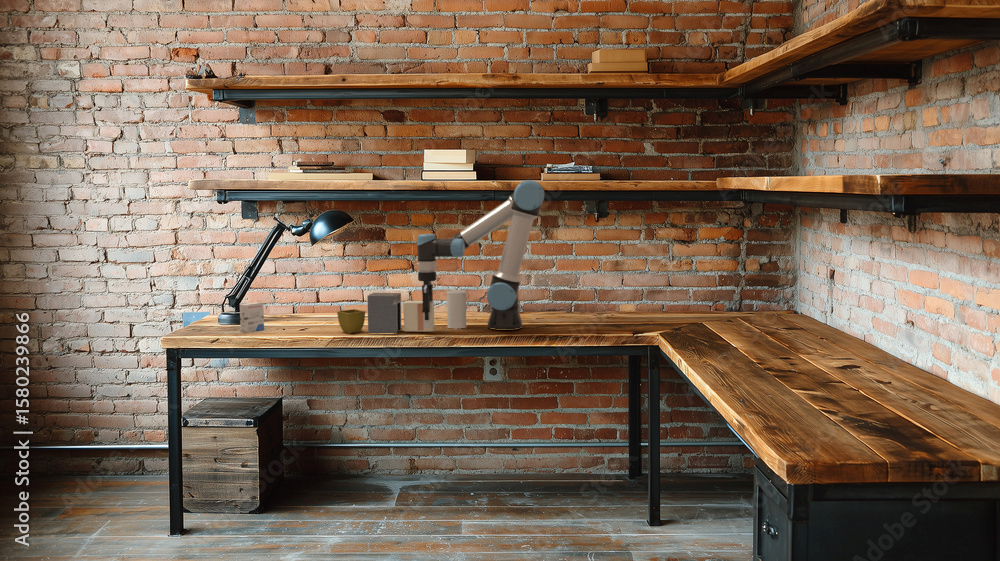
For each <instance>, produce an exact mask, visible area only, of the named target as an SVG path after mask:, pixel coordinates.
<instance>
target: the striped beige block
mask: <svg viewBox="0 0 1000 561" xmlns="http://www.w3.org/2000/svg"><path fill="white" fill-rule="evenodd" d="M402 304H403V306H402V308H403V331H404V332H434V330H435V302H434V300H433V301H430V318H431V328H424V312H422V311H423V300H405V301H404V302H402Z"/></svg>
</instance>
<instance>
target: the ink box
mask: <svg viewBox="0 0 1000 561" xmlns="http://www.w3.org/2000/svg"><path fill="white" fill-rule="evenodd" d="M239 318H240V320H239V321H240V323H239V324H240V332H243V333H252V332H257V331H264V330H265V316H264V303H263V302H259V301H254V302H246V303H239Z"/></svg>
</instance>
